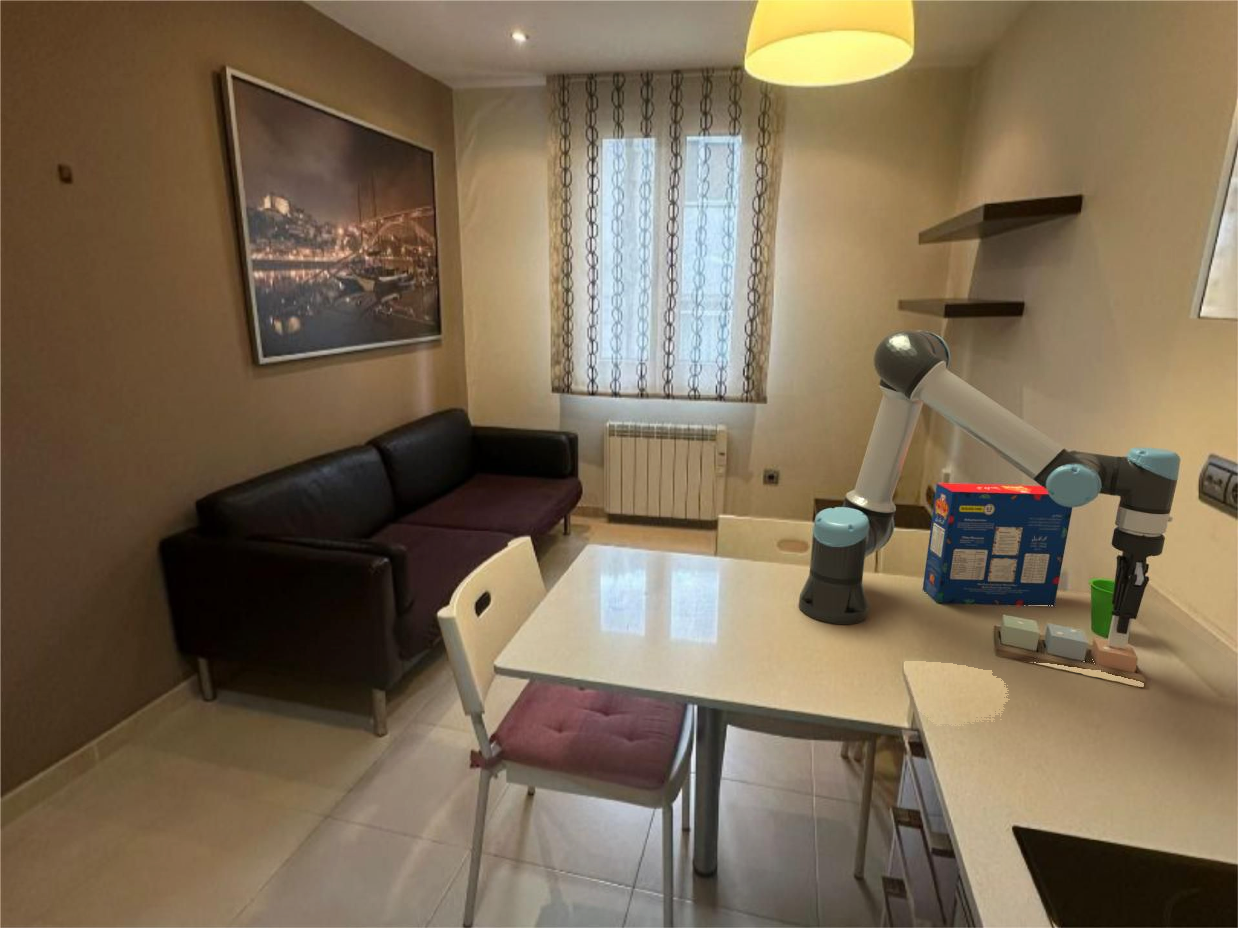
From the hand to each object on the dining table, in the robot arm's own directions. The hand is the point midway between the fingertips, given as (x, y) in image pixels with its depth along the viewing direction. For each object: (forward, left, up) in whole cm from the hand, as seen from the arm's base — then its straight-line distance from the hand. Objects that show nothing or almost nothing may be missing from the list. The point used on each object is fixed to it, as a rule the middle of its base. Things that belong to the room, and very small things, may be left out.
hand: (1116, 645), depth 125 cm
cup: (+2, +18, -5) cm, 19 cm away
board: (-8, 0, -5) cm, 10 cm away
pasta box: (-21, +26, -5) cm, 34 cm away
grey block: (-8, 0, -3) cm, 9 cm away
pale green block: (-16, 0, -3) cm, 17 cm away
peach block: (0, 0, -4) cm, 4 cm away
